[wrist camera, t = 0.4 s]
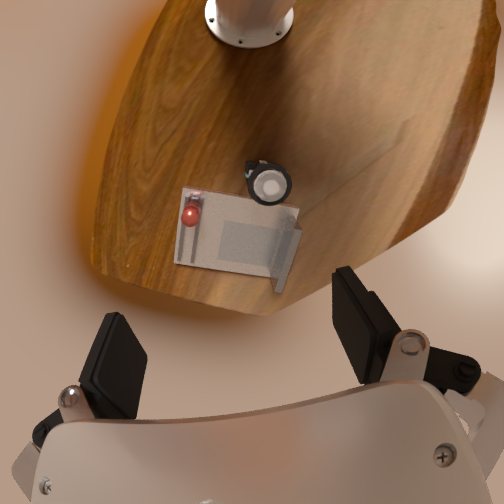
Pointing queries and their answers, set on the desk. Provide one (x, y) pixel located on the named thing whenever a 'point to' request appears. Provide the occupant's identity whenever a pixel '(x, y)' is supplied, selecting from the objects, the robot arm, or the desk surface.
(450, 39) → the desk surface
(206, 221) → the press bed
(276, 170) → the push button
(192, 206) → the lever
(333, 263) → the desk surface
